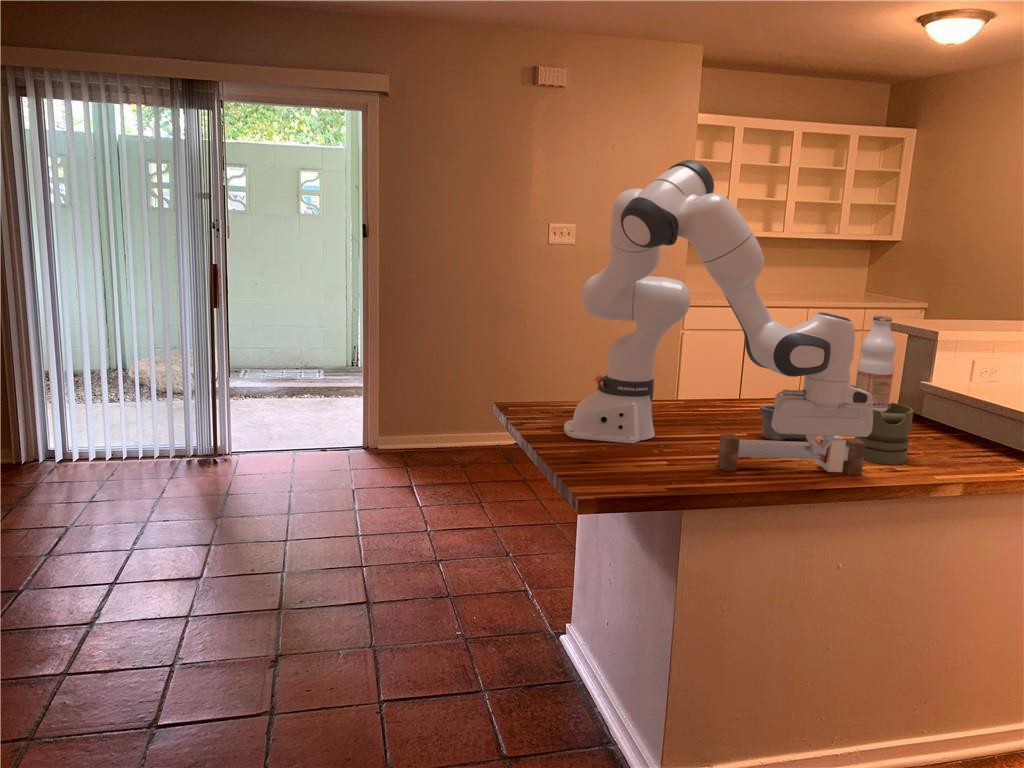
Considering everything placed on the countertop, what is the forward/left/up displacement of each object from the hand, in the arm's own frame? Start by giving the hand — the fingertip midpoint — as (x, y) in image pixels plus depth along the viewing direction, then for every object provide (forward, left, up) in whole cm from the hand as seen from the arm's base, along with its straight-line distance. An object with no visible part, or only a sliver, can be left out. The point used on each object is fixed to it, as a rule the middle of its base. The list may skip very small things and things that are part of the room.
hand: (817, 454), depth 164 cm
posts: (-5, +3, -5) cm, 7 cm away
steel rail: (-4, +3, -2) cm, 6 cm away
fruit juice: (+39, +61, -5) cm, 73 cm away
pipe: (+3, +28, -5) cm, 29 cm away
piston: (+21, +16, -5) cm, 26 cm away
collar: (+4, +3, -5) cm, 7 cm away
